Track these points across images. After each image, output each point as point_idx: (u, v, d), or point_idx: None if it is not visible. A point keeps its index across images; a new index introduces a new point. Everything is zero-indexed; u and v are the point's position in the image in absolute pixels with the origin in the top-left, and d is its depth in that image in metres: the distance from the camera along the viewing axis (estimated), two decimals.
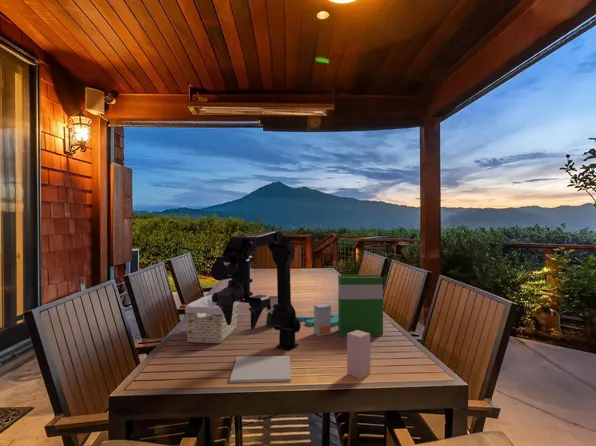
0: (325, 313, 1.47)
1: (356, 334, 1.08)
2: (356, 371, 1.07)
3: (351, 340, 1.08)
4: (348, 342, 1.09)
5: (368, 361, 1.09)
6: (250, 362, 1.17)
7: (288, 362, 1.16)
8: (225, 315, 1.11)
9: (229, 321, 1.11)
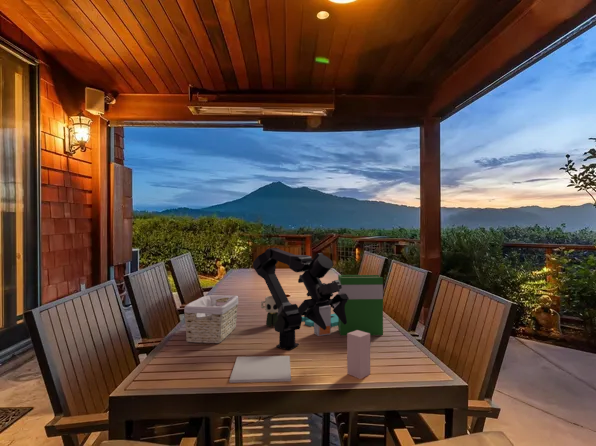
0: (325, 313, 1.47)
1: (356, 334, 1.08)
2: (356, 371, 1.07)
3: (351, 340, 1.08)
4: (348, 342, 1.09)
5: (368, 361, 1.09)
6: (250, 362, 1.17)
7: (288, 362, 1.16)
8: (321, 318, 1.12)
9: None
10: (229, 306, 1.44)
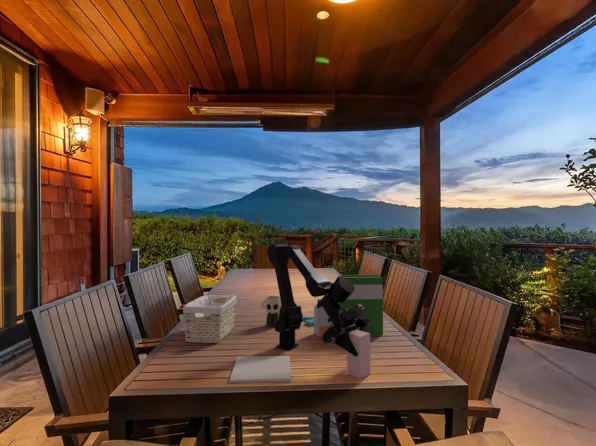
0: (325, 313, 1.47)
1: (356, 334, 1.08)
2: (356, 371, 1.07)
3: (351, 340, 1.08)
4: None
5: (368, 361, 1.09)
6: (250, 362, 1.17)
7: (288, 362, 1.16)
8: (352, 345, 1.07)
9: None
10: (228, 306, 1.45)
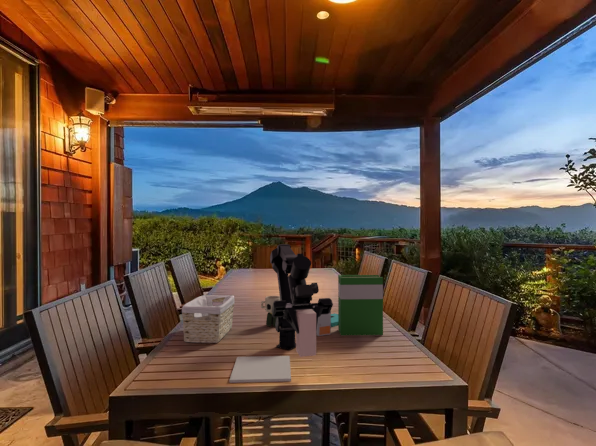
0: None
1: (301, 311, 1.06)
2: (298, 348, 1.05)
3: (297, 317, 1.07)
4: (296, 319, 1.08)
5: (313, 341, 1.05)
6: (250, 362, 1.17)
7: (288, 362, 1.16)
8: (295, 321, 1.06)
9: None
10: (226, 306, 1.45)
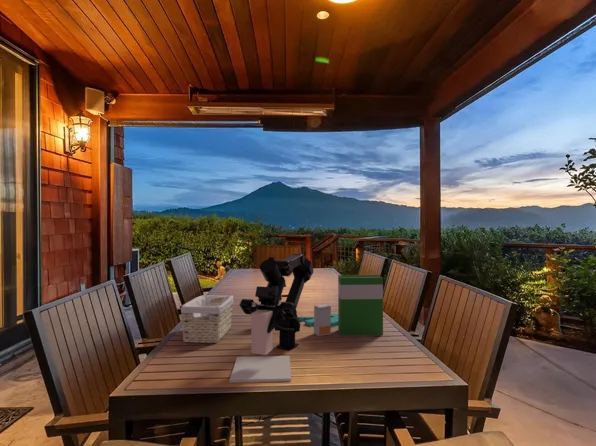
0: (325, 313, 1.47)
1: (257, 311, 1.13)
2: None
3: None
4: None
5: (263, 341, 1.10)
6: (250, 362, 1.17)
7: (288, 362, 1.16)
8: None
9: None
10: (226, 306, 1.45)
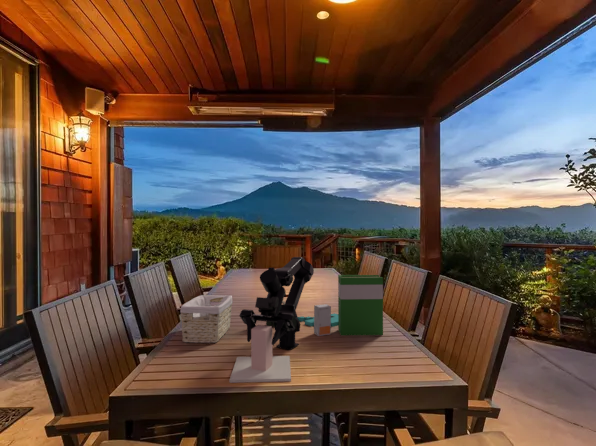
0: (325, 313, 1.47)
1: (257, 327, 1.13)
2: None
3: None
4: None
5: (263, 357, 1.10)
6: (250, 362, 1.17)
7: (288, 362, 1.16)
8: (248, 330, 1.15)
9: (249, 338, 1.14)
10: (225, 306, 1.45)
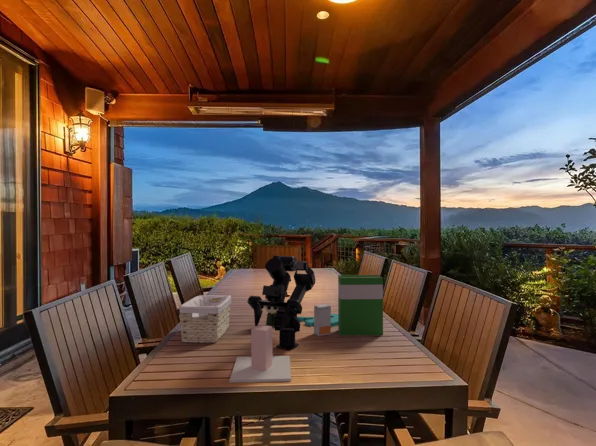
0: (325, 313, 1.47)
1: (257, 327, 1.13)
2: None
3: None
4: None
5: (263, 357, 1.10)
6: (250, 362, 1.17)
7: (288, 362, 1.16)
8: (256, 316, 1.21)
9: (257, 323, 1.20)
10: (224, 305, 1.45)
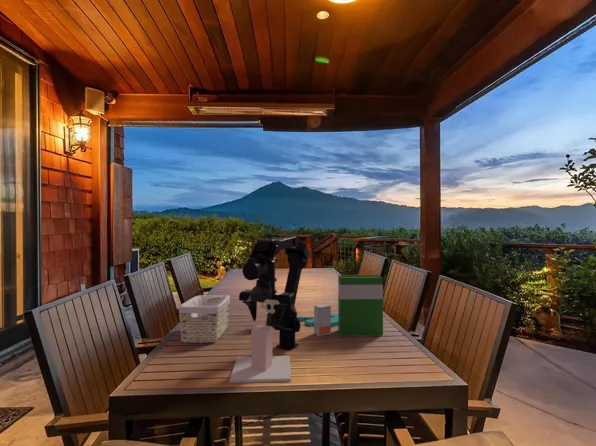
0: (325, 313, 1.47)
1: (257, 327, 1.13)
2: None
3: None
4: None
5: (263, 357, 1.10)
6: (250, 362, 1.17)
7: (288, 362, 1.16)
8: (251, 312, 1.21)
9: (255, 317, 1.22)
10: (223, 305, 1.45)
